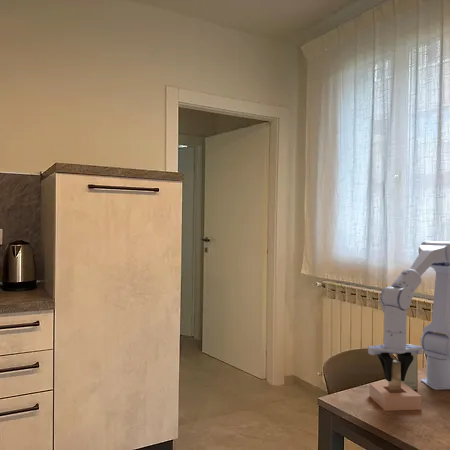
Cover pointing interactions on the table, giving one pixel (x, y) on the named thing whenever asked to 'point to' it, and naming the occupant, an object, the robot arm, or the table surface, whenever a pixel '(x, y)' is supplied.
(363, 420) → the table surface
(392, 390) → the beech peg
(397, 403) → the socket block
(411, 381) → the skincare box
